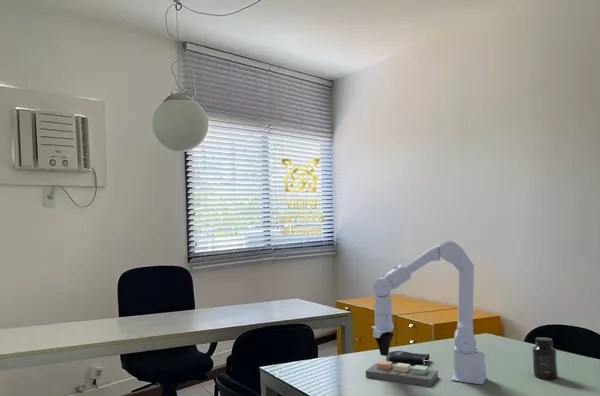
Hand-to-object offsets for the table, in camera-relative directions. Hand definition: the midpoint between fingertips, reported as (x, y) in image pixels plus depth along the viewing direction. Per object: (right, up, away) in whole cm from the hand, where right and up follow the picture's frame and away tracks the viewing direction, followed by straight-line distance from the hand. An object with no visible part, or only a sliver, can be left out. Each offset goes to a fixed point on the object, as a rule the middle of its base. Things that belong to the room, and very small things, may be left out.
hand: (384, 355), depth 159 cm
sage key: (+11, -4, -6) cm, 13 cm away
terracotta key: (0, -4, 0) cm, 4 cm away
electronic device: (+11, -7, +14) cm, 19 cm away
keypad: (+5, -6, -4) cm, 9 cm away
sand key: (+5, -4, -3) cm, 7 cm away
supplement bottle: (+50, -5, -7) cm, 51 cm away
